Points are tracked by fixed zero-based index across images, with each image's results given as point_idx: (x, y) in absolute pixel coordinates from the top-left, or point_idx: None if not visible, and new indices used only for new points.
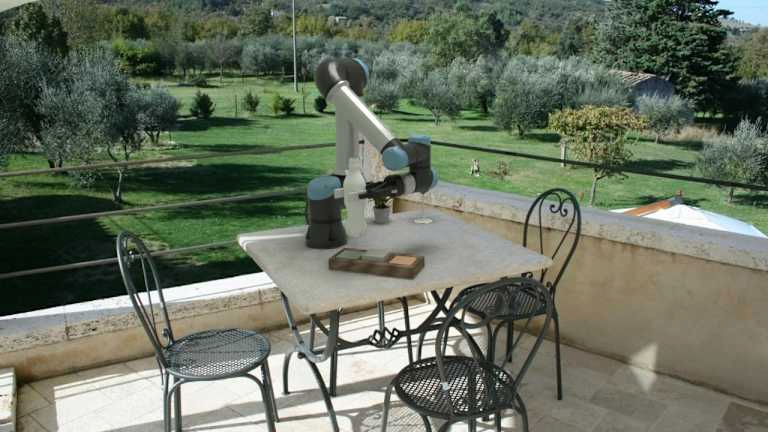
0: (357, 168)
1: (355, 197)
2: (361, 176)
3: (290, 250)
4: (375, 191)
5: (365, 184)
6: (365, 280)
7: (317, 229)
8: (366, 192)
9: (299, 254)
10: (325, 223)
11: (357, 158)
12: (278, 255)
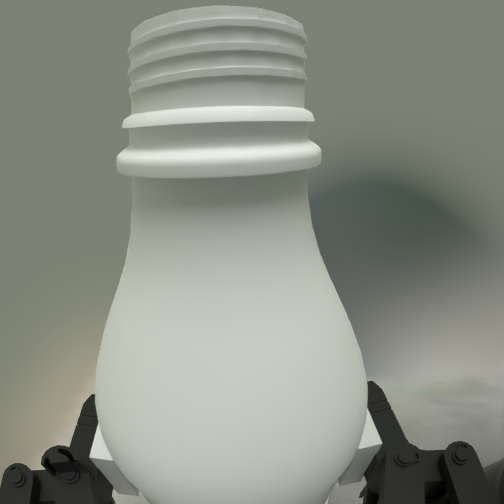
0: (132, 193)
1: None
2: (109, 342)
3: (460, 435)
4: (9, 480)
5: (111, 456)
6: (115, 497)
7: (493, 471)
8: (95, 464)
9: (424, 449)
10: (500, 485)
11: (202, 7)
12: (431, 407)
